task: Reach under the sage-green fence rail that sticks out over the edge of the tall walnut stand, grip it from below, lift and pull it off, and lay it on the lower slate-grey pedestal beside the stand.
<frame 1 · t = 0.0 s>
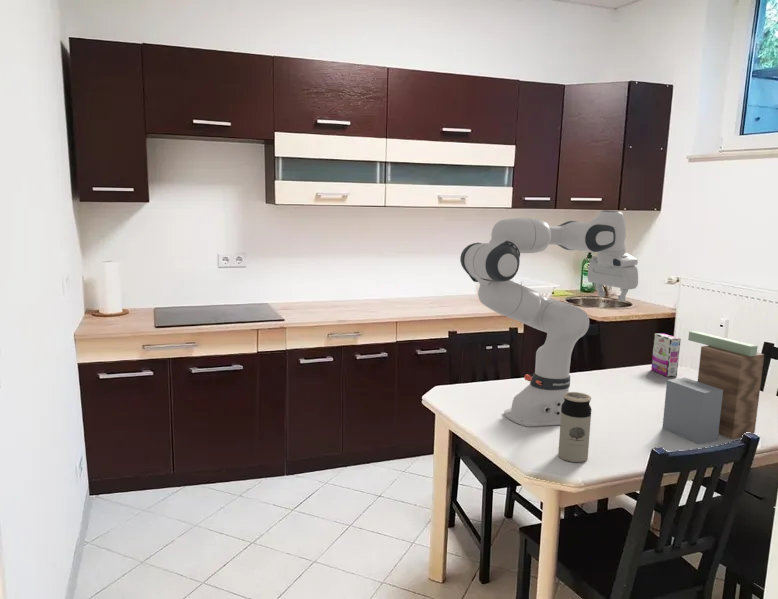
hand: (611, 298, 202), 39 cm above the table, tool pointing down, fingers open, 8 cm apart
fence rail: (720, 347, 189), point 26 cm above the table, touching walnut stand
travel mug: (572, 457, 167), on the table
grey pedestal: (689, 434, 185), on the table
candy bar box: (663, 373, 252), on the table
walnut stand: (723, 428, 190), on the table
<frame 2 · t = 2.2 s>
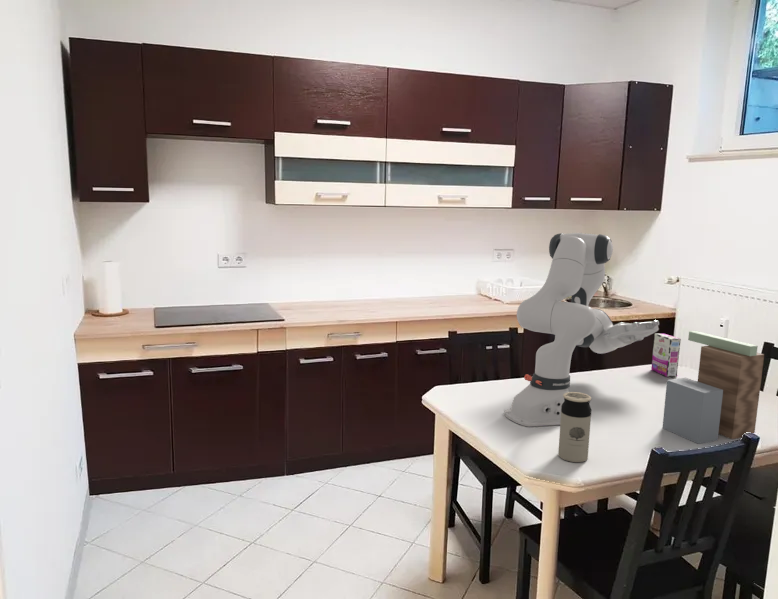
hand: (647, 323, 216), 28 cm above the table, tool pointing upward, fingers open, 8 cm apart
nothing on the table moved.
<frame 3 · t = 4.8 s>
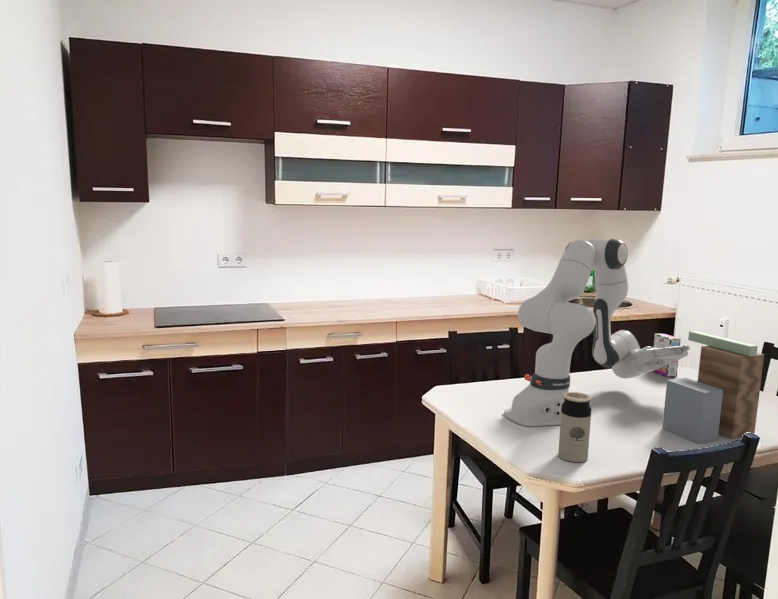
hand: (677, 348, 204), 22 cm above the table, tool pointing upward, fingers open, 8 cm apart
nothing on the table moved.
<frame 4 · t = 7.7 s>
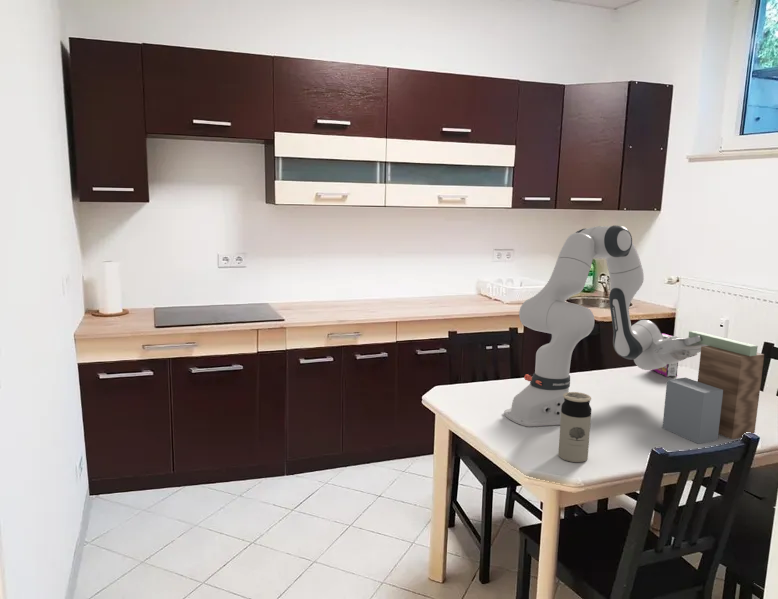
hand: (705, 337, 194), 28 cm above the table, tool pointing upward, fingers closed on fence rail, 3 cm apart
fence rail: (720, 347, 189), point 26 cm above the table, touching gripper, walnut stand
everything else where it was.
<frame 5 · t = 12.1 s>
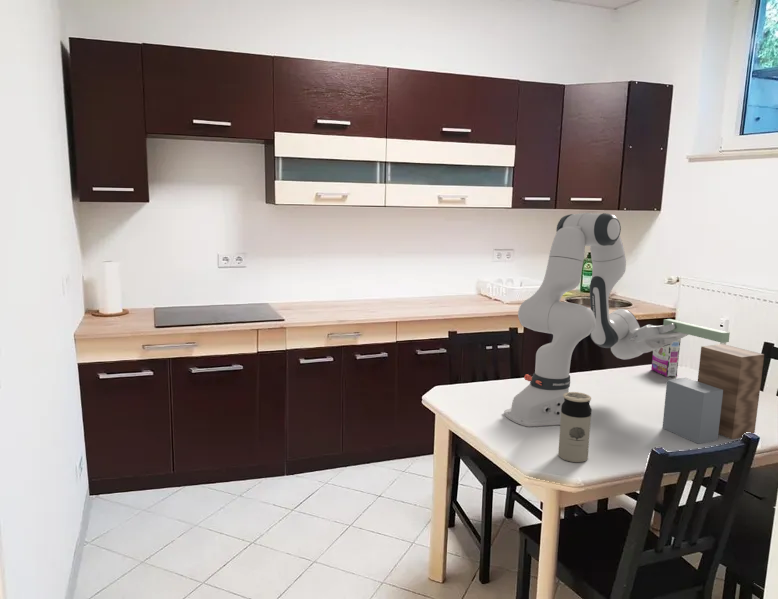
hand: (679, 325, 194), 32 cm above the table, tool pointing upward, fingers closed on fence rail, 3 cm apart
fence rail: (694, 334, 189), point 30 cm above the table, touching gripper
everything else where it was.
when the fingers open (19 cm above the table, at t = 16.8 s): fence rail drops 1 cm, resting on grey pedestal.
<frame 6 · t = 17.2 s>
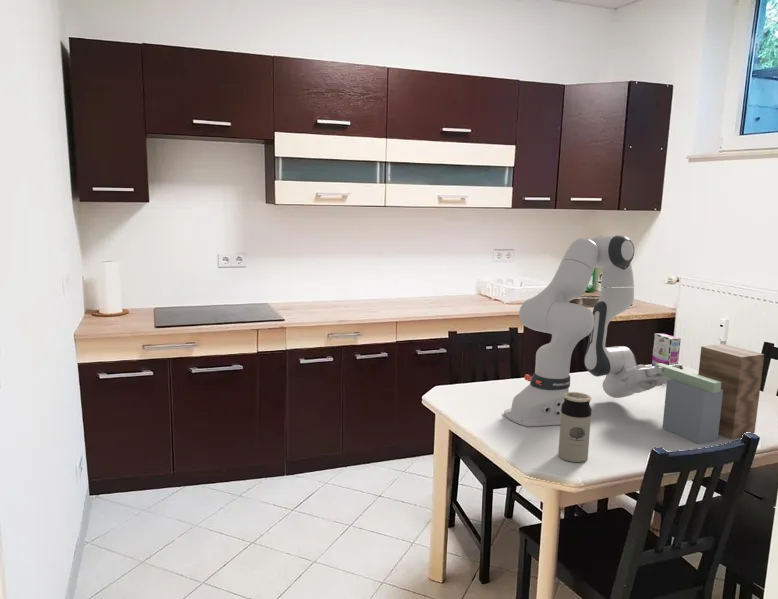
hand: (671, 368, 190), 19 cm above the table, tool pointing upward, fingers open, 7 cm apart
fence rail: (685, 381, 185), point 16 cm above the table, touching grey pedestal
everything else where it was.
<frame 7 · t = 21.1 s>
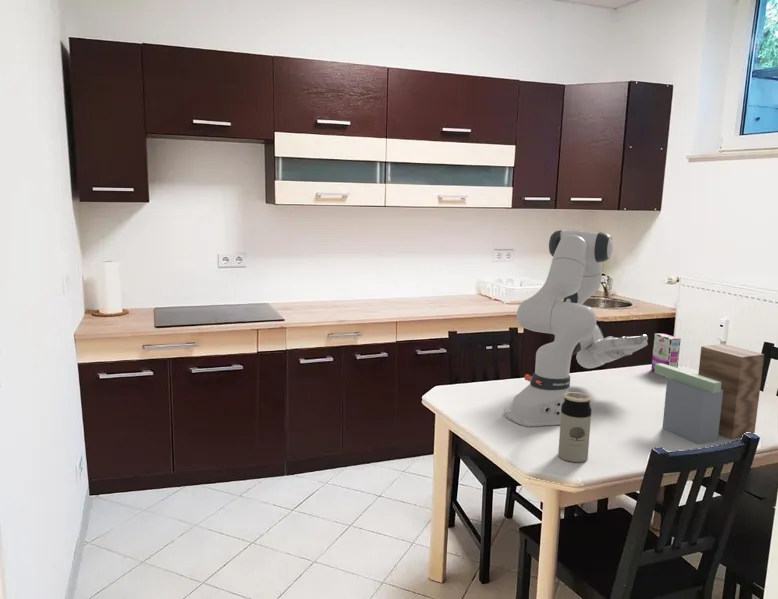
hand: (635, 337, 210), 24 cm above the table, tool pointing upward, fingers open, 8 cm apart
nothing on the table moved.
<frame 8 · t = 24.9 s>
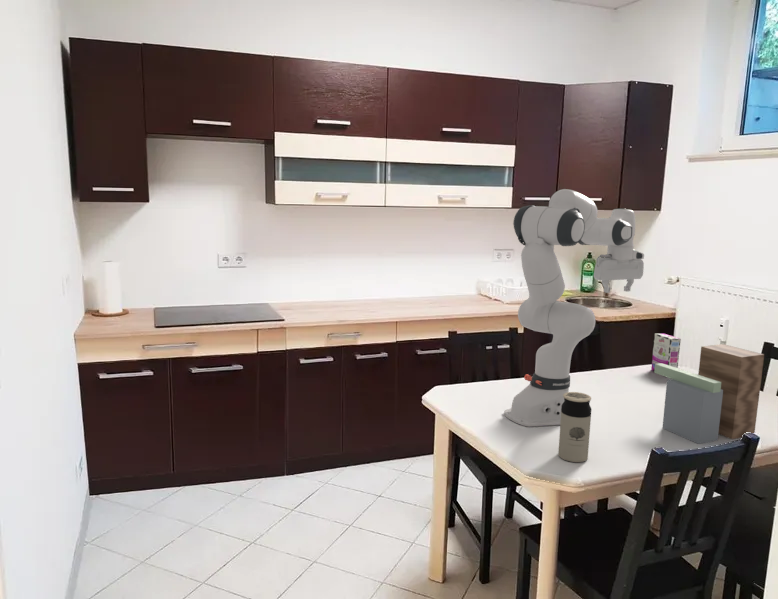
hand: (617, 291, 216), 39 cm above the table, tool pointing down, fingers open, 8 cm apart
nothing on the table moved.
at the end: fence rail inside the target area on the grey pedestal (0.3 cm from its centre), point 16.0 cm above the grey pedestal's base; the gripper is holding nothing; fence rail tilted 0° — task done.
